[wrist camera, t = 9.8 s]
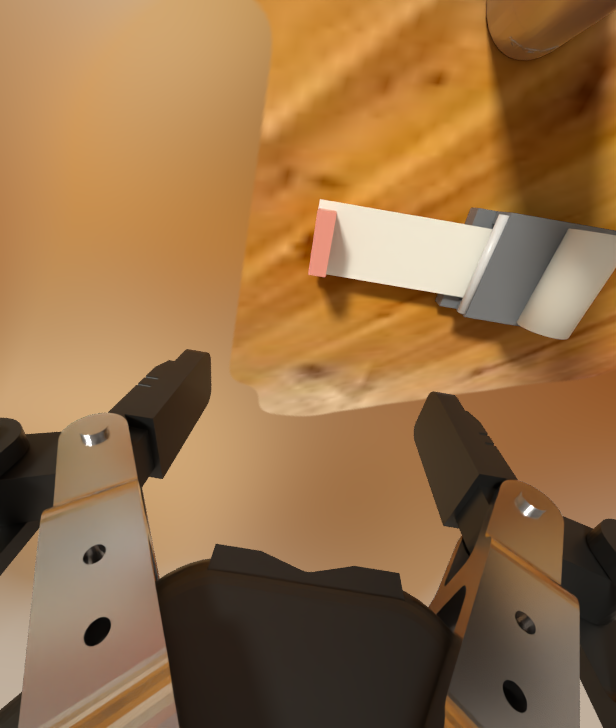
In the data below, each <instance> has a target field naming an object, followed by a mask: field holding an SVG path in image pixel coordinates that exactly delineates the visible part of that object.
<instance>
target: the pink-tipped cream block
mask: <svg viewBox="0 0 616 728" xmlns="http://www.w3.org/2000/svg"><path fill="white" fill-rule="evenodd" d="M492 230H493V229H489V228H483V227H477V226H472V225H466V224H460V223H454V222H448V221H443V220H437V219H431V218H425V217H420V216H414V215H408V214H402V213H397V212H391V211H385V210H379V209H374V208H368V207H362V206H356V205H350V204H345V203H339V202H333V201H327V200H322V199H320V203H319V209H318V212H317V219H316V225H315V232H314V239H313V246H312V253H311V259H310V266H309V273H308V275H314V276H320V277H326V274H328V275H333V276H339V277H345V278H351V279H357V280H363V281H369V282H375V283H381V284H386V285H392V286H398V287H404V288H410V289H416V290H422V291H428V292H434V293H439V294H445V295H451V296H457V297H463V296H464V294H465V292H466V289H467V287H468V285H469V283H470V280H471V278H472V276H473V273H474V271H475V269H476V266H477V264H478V262H479V260H480V257H481V255H482V253H483V250H484V248H485V246H486V243H487V241H488V239H489V236H490V234H491V232H492Z"/></svg>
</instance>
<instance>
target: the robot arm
mask: <svg viewBox="0 0 616 728" xmlns="http://www.w3.org/2000/svg"><path fill="white" fill-rule="evenodd" d="M615 10H616V0H487V21H488V28H489V31H490V34H491V37H492V39H493V41H494V43H495V44H496V46H497V47H498V49H499V50H500V51H501V52H503V53H504V54H505V55H506V56H508V57H511V58H513V59H516V60H532V59H536V58H540V57H542V56H544V55H546V54H548V53H550V52H552V51H554V50H555V49H557V48H558V47H560V46H561V45H563V44H564V43H566V42H567V41H569V40H570V39H572V38H573V37H575V36H576V35H578V34H579V33H581V32H583V31H584V30H586V29H587V28H589V27H590V26H592V25H593V24H595V23H596V22H598V21H600V20H601V19H603V18H604V17H606V16H607V15H609V14H610V13H612V12H613V11H615ZM210 395H211V358H210V354H209V353H207V352H201V351H195V350H189V349H187V350H185V351H184V352H183V353H182V354H181V355H180V356H179V357H178V359H176V360H175V361H170V360H169V361H167V362H165V363H162V364H160V365H158V366H156V367H155V368H154V369H153V370H152V371H151V372H149V373H148V374H147V375H146V378H143V379H142V380H141V381H140V382H139V383H138V385H136V386H135V387H134V388H133V389H132V390H131V391H130V392H129V393H128V394H127V395H126V396H125V397H123V398H122V399H121V400H120V401H119V402H118V403H117V404H116V405H115V406H114V407H113V408H112V409H111V410H110V411H109V412H108V413H98V414H93V415H89V416H86V417H83V418H81V419H79V420H76V421H75V422H73V423H71V424H70V425H69V426H67V427H66V428H65V429H64V430H63V431H62V432H52V433H38V434H25V432H24V430H23V429H22V426H21V424H20V423H19V422H18V421H16V420H14V419H9V418H0V575H1V574H2V573H3V572H4V570H5V569H6V568H7V567H8V565H9V564H10V563H11V562H12V561H13V559H14V558H15V557H16V556H17V554H18V553H19V552H20V551H21V550H22V548H23V547H24V546H25V545H26V543H27V542H28V541H29V540H30V539H31V537H32V536H33V535H34V534H35V532H36V531H37V530H38V529H39V538H38V546H37V556H36V565H35V575H34V584H33V594H32V603H31V612H30V622H29V632H28V641H27V650H26V660H25V670H24V678H23V688H22V692H21V693H20V694H19V695H18V696H16V697H15V698H14V699H13V700H12V701H10V702H9V703H8V704H7V705H6V706H4V707H3V708H2V709H1V710H0V728H580V680H581V682H582V684H583V686H584V688H585V690H586V692H587V695H588V697H589V699H590V701H591V703H592V705H593V707H594V709H595V711H596V713H597V715H598V718H599V720H600V722H601V724H602V726H603V728H616V520H615V519H605V520H603V521H602V522H601V523H600V524H598V525H597V526H596V527H595V528H594V529H592V528H590V527H588V526H585V525H583V524H580V523H578V522H576V521H573V520H571V519H568V518H566V517H564V516H562V514H561V512H560V510H559V509H558V507H557V506H556V505H555V504H554V503H553V502H552V501H551V500H550V499H549V498H548V497H547V496H546V495H545V494H543V493H542V492H541V491H539V490H538V489H536V488H535V487H533V486H531V485H529V484H527V483H524V482H521V481H518V479H517V478H516V476H515V475H514V473H513V472H512V470H511V469H510V467H509V466H508V464H507V463H506V461H505V460H504V458H503V457H502V455H501V453H500V452H499V450H498V449H497V447H496V446H494V443H493V442H492V440H491V438H490V437H489V436H487V432H486V431H485V429H484V428H483V426H482V425H481V423H480V422H479V421H478V420H477V419H476V418H475V417H473V415H471V414H470V413H469V412H468V411H465V410H464V408H463V407H462V405H461V403H460V402H459V400H458V399H457V397H456V396H455V395H451V394H446V393H440V392H431V393H430V394H429V395H428V397H427V399H426V402H425V404H424V406H423V408H422V411H421V413H420V415H419V417H418V419H417V421H416V424H415V427H414V440H415V443H416V446H417V449H418V452H419V455H420V458H421V461H422V464H423V467H424V470H425V473H426V476H427V479H428V482H429V485H430V487H431V490H432V494H433V497H434V500H435V502H436V505H437V509H438V511H439V514H440V517H441V520H442V523H443V525H444V526H448V527H454V528H459V529H460V531H461V534H462V536H461V537H460V539H459V540H458V542H457V544H456V546H455V549H454V551H453V554H452V556H451V558H450V561H449V564H448V566H447V568H446V571H445V573H444V576H443V578H442V581H441V583H440V586H439V588H438V590H437V593H436V595H435V597H434V598H433V600H432V602H431V604H430V605H429V607H427V606H426V605H424V604H423V603H422V602H421V601H419V600H418V599H416V598H415V597H413V596H411V595H410V594H408V593H407V592H405V591H403V590H402V585H401V580H400V574H399V573H395V572H389V571H382V570H375V569H369V568H363V567H357V566H352V567H345V568H338V569H331V570H324V571H317V572H304V571H302V570H300V569H298V568H296V567H293V566H291V565H289V564H287V563H285V562H283V561H281V560H279V559H277V558H275V557H273V556H270V555H268V554H266V553H264V552H262V551H257V550H251V549H245V548H238V547H232V546H226V545H219V544H216V545H215V548H214V551H213V554H212V557H211V559H205V560H200V561H197V562H193V563H190V564H187V565H185V566H182V567H180V568H178V569H176V570H174V571H172V572H170V573H168V574H166V575H165V576H163V577H162V578H159V573H158V568H157V563H156V558H155V553H154V548H153V543H152V538H151V532H150V527H149V522H148V516H147V511H146V506H145V500H144V495H143V490H142V487H143V485H144V483H145V482H146V480H147V479H148V477H154V478H160V479H163V478H164V476H165V474H166V473H167V471H168V469H169V467H170V466H171V464H172V463H173V461H174V459H175V458H176V456H177V454H178V453H179V451H180V449H181V448H182V446H183V444H184V443H185V441H186V439H187V438H188V436H189V434H190V432H191V431H192V429H193V428H194V426H195V424H196V423H197V421H198V419H199V418H200V416H201V414H202V413H203V411H204V409H205V408H206V406H207V404H208V402H209V399H210Z"/></svg>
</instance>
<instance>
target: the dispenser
mask: <svg viewBox="0 0 616 728" xmlns="http://www.w3.org/2000/svg"><path fill="white" fill-rule="evenodd" d="M465 224H466V225H472V226H477V227H483V228H489V229H493V230H492V232H491V234H490V236H489V239H488V241H487V243H486V246H485V248H484V250H483V253H482V255H481V257H480V260H479V262H478V264H477V266H476V269H475V271H474V273H473V276H472V278H471V280H470V283H469V285H468V287H467V289H466V292H465V294H464V296H463V297H457V296H451V295H445V294H439V293H438V295H437V297H436V300H435V301H436V302H437V303H438V304H439V305H440V306H444V307H449V308H455V309H457V312H459V313H461V314H462V315H463V316H464V317H468V318H474V319H480V320H486V321H491V322H497V323H503V324H509V325H515V326H521V327H523V328H525V329H527V330H529V331H531V332H534V333H537V334H540V335H543V336H546V337H550V338H555V339H563V340H565V339H568V338H569V336H570V335H571V334H572V332H573V331H574V329H575V328H576V326H577V325H578V323H579V322H580V320H581V319H582V317H583V316H584V314H585V313H586V311H587V310H588V308H589V307H590V305H591V304H592V302H593V301H594V299H595V298H596V296H597V295H598V293H599V292H600V291H601V289H602V288H603V286H604V285H605V283H606V282H607V280H608V279H609V277H610V276H611V274H612V273H613V271H614V270H615V268H616V231H614V230H609V229H603V228H597V227H591V226H586V225H580V224H574V223H569V222H563V221H557V220H551V219H546V218H540V217H534V216H528V215H523V214H517V213H510V212H498V211H492V210H486V209H481V208H471V209H470V212H469V214H468V217H467V219H466V222H465Z"/></svg>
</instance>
